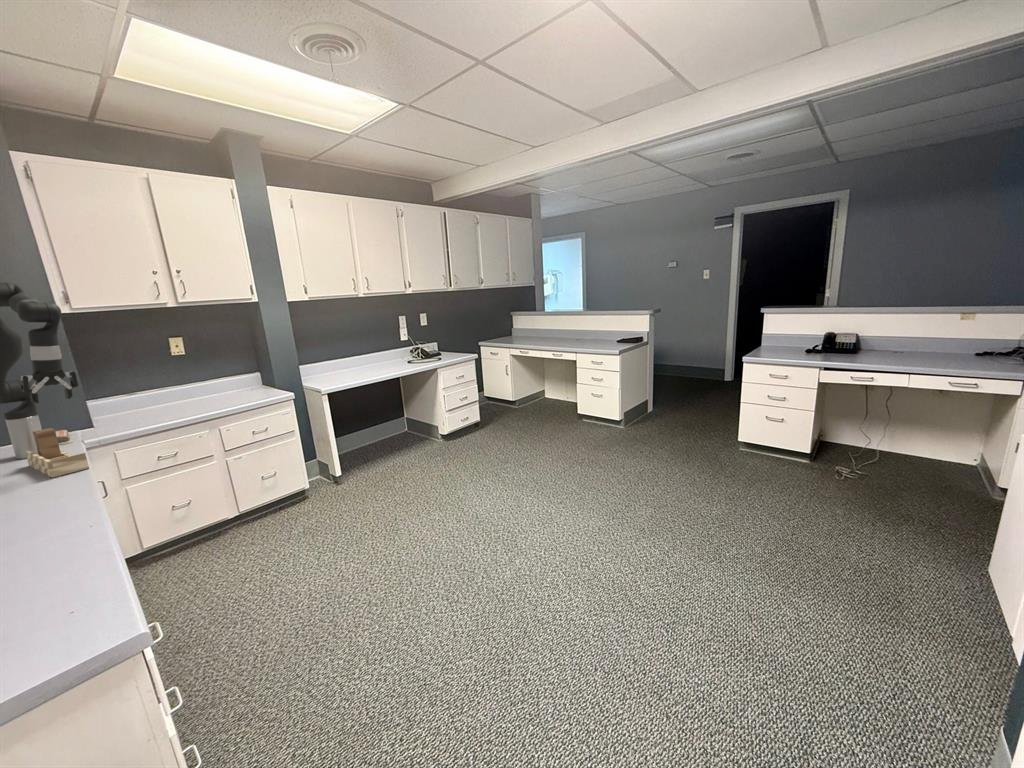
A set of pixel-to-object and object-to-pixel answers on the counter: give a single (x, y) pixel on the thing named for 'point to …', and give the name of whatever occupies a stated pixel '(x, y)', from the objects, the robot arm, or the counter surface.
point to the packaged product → (64, 437)
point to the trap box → (58, 463)
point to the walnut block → (47, 443)
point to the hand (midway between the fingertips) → (52, 400)
